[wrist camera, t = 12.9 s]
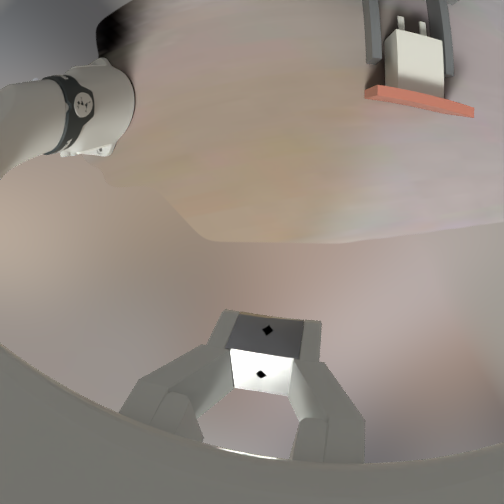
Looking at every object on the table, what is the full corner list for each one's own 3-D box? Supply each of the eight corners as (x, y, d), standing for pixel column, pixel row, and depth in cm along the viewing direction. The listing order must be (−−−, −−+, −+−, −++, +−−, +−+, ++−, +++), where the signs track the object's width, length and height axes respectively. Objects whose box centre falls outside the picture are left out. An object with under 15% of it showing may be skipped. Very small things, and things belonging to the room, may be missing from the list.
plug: (363, 98, 32) (377, 95, 24) (361, 19, 26) (372, -5, 18) (442, 113, 29) (473, 117, 21) (440, 37, 24) (469, 23, 15)
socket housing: (341, 60, 30) (346, 48, 23) (334, -40, 22) (335, -65, 15) (459, 84, 27) (485, 82, 20) (448, -15, 18) (467, -31, 11)
